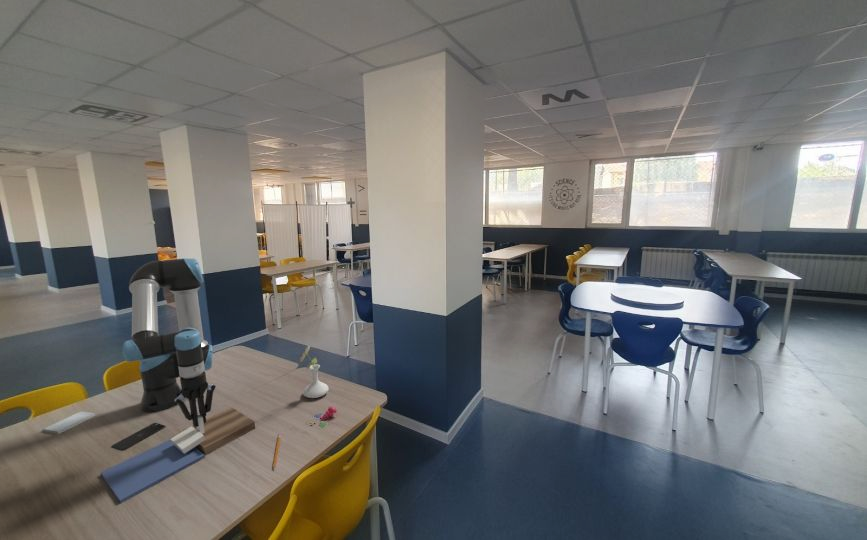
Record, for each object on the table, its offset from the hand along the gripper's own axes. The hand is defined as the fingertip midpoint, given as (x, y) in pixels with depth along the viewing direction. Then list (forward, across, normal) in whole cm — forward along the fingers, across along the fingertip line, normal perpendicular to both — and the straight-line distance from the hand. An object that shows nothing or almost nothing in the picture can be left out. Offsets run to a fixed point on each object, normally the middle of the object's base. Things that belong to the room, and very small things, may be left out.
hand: (201, 432), depth 126 cm
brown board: (+4, +6, 0) cm, 7 cm away
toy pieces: (+5, +33, -27) cm, 43 cm away
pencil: (+5, +12, -29) cm, 31 cm away
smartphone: (+5, -12, +24) cm, 27 cm away
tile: (+1, -4, 0) cm, 4 cm away
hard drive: (+5, -24, +59) cm, 64 cm away
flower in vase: (+4, +44, -8) cm, 45 cm away
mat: (+4, -14, 0) cm, 15 cm away
